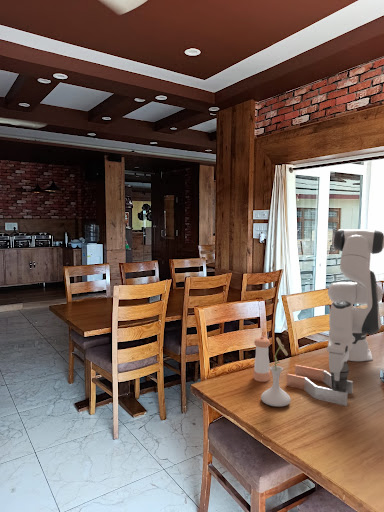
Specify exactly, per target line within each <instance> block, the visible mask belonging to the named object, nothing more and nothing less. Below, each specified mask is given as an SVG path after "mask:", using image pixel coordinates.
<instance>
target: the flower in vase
mask: <svg viewBox="0 0 384 512" xmlns="http://www.w3.org/2000/svg"><path fill="white" fill-rule="evenodd" d="M275 339H276V342H277V344H278V349H277V350H276V352H275V355H273V357H274V365H272V366H269V370H270V372H271V373H272V385H271V387H269V388H268V389H266V390H265V391H263V392H262V393H261V395H260V399H261V401H262V402H263V403H264V404H266V405H268V406H271V407H276V408H277V407H278V408H279V407H286V406H288V405H289V404H290V403H291V402H292V398H291V397H290V395H289V394H288V393H287V392H286V391H285V390H283V389H282V388H281V387H280V375H281V373H282V371H283V370H284V368H283V367H282V366H278V365H277V364H280V363H281V362H280V361H278V359H277V354H278V353H279V350H281V351H282V352H283V353H284V355H285V356H288V355H289V354H288V351H287V350H286V349H285V345H284V344H282V342H281V339H280V338H279V337H276V338H275Z"/></svg>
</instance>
